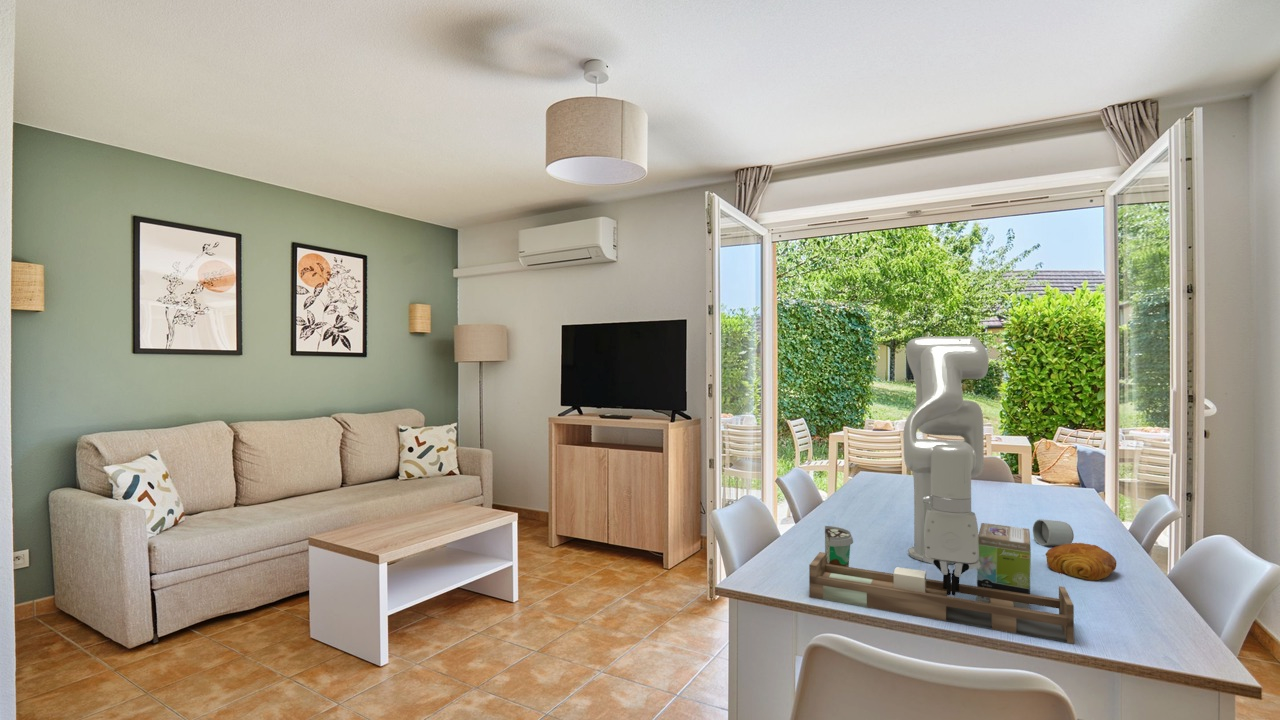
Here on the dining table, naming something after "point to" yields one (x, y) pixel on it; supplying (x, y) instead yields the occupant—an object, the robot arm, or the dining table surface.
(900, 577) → the block
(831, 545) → the food container
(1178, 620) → the dining table surface
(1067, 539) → the ceramic mug
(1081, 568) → the swirled bread bun
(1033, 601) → the wooden rack
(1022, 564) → the tea box
